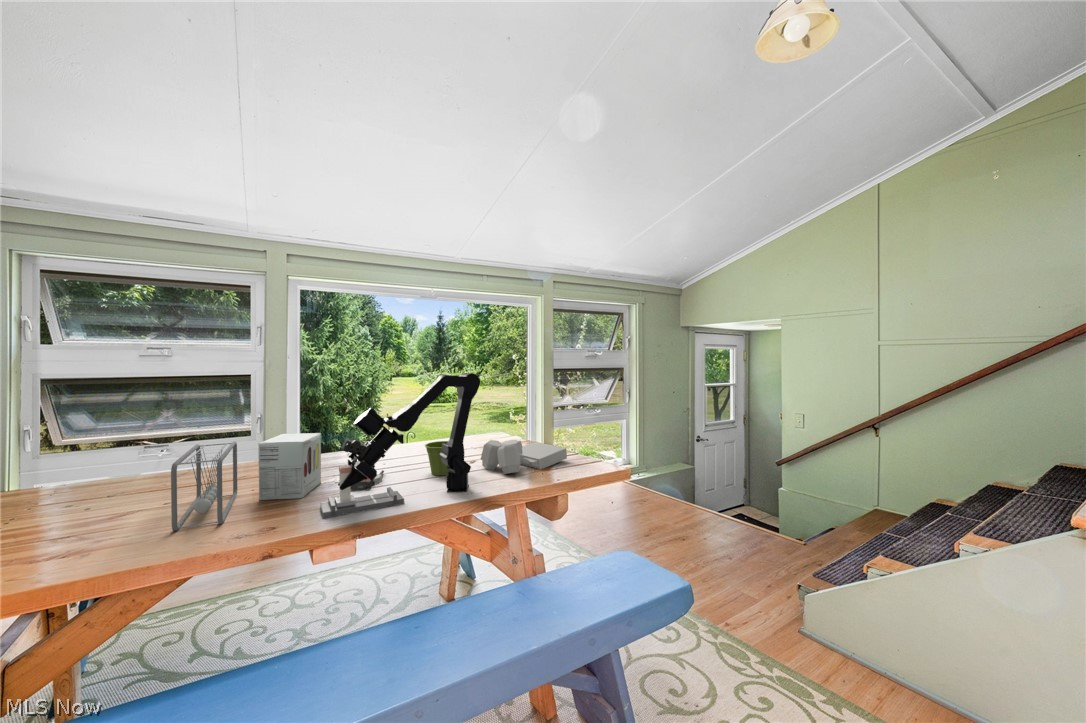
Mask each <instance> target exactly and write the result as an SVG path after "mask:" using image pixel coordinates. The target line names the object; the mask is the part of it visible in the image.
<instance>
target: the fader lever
mask: <svg viewBox="0 0 1086 723" xmlns="http://www.w3.org/2000/svg"><path fill="white" fill-rule="evenodd" d="M350 472H351V467H350V465H348V464H346V465H344V464H343V465H339V466H338V474H339V476H338V477H339V482H340V486H341V484H342V483H343V481H344V480H345V479H346V477H347V476H348V474H349V473H350ZM340 486H339V487H340ZM351 491H352V490H351V486H350V487H348V488H346V489H344V490H341V489H340V488H339V496H336V497H334V501H335V504H336V506H337V507H343V506H349V505H355V504H356V500H355V498H356V497H355V496H354V494H352V493H351Z"/></svg>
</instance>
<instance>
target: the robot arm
mask: <svg viewBox="0 0 1086 723" xmlns="http://www.w3.org/2000/svg"><path fill="white" fill-rule="evenodd" d="M480 385H481V379H480V377H479V375H477V373H473V372H472V373H471V372H463V373H461V374H460V375H457V374H456V375H453V374H451V375H448V374H440V375H438V377H437V379H435V380H434V381H433V382H432V383H431V384H430V385H429V386H428V387H427V388H426V389H425V390H424V391H423V392H421V394H419V395H418V396H417V397H416V398H415V399H414V400H413V401H412V402H411V403H409V404H407V405H405V406H403V407H402V408H400V409H399V410H397V411H396V412H395V413H393V414H392V415H390V416H386V417H382V416H381V415H380V414H378V413H377V411H376V410H375V409H374V408H373V407H369V408H368V409H367V410H366V411H364V412H363V413H361V414H359V416H357V418H356V419H355V420H354V422H353V425H354V426H355V427H356V428H358V429H359V430H360V431H361V432H362V433H363V434H365V435H366V436H368V437H370V436H373V438H372V439H370V441H368V440H367V441H366V442H364V443H362V442H361V441H360V440H356V439H353V440H352V439H349V438H345V439H344V441H343V444H342V446H341V448H340V449H341V450H342V451H343V452H346V453H347V454H346V456H347V458H348V459H347V465H350V467H351V472H350V473H349V474H348V476H347V477H346V479H345V480H344V481H343V483H342V484H341V486H340V481H339V482H338V483H337V485H338V486H339V490H340V489H341V490H344V489H346V488H348V487H350V486H352V485H354V484H356V483H358V482H360V481H363V480H365V479H368V478H369V479H370V480H373V479H374V478H375V477H376V476H377V475H378V471H377V470H376V468H375V467H376V464H377V463H378V462H379V460H380V459H381V458H382V459H384V458H385V457H386V453H387V452H388V450H389V449H391V447H392V446H393V445H395V443H396V442H397V441H398V442H399V443H400V444H402V445H403V444H404V443H405V441H404V440H405V439H404V438H405V435H404V434H403V433H405V432H408V431H411V429H413V427H414V425H415V424H416V423H417V422H418V420H419V418H420V416H421V414H422V413H423V412H424V410H426V409H427V408H428V407H429V406H430V405H431V404H432V403H433V402H434V401H435V400H436V399H437V398H438V397H439V396H440V395H441V394H442V393H443V392H445V390H446V389H448V388H450V387H452V388H453V387H454V388H456V392H457V398H458V399H457V403H456V408H455V413H454V416H453V423H452V427H451V432H450V436H449V439H448V440H447V441H448V442H447V444H444V443H443V444H442V451H441V453H440V456H441V461H442V462H443V464H445V465H446V466H447V469H449V472H448V474H447V475H446V478H445V479H446V480H445V481H446V484H445V485H446V493H449V492H450V493H455V492H456V493H458V492H459V493H463V492H464V493H465V492H468V489H469V487H470V484H469V473H470V471H471V469H472V466H471V465H470V464H469V463H468V462H466V460H465V444H464V440H465V434H466V430H467V427H468V426H467V425H468V420H469V416H470V410H471V405H472V401H473V399H474V398H475V396H476V395H477V393H478V390H479V388H480ZM385 425H386V426H387V427H389V428H390V429H388V428H387V427H386V426H385ZM395 429H396V430H397V431H396V430H395ZM398 431H399V432H401V433H398ZM402 432H403V433H402ZM349 458H350V459H349Z"/></svg>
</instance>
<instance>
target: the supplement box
mask: <svg viewBox="0 0 1086 723" xmlns="http://www.w3.org/2000/svg"><path fill="white" fill-rule="evenodd" d="M321 437H322V433H321V432H314V433H313V432H310V433H309V432H307V433H306V432H303V433H301V432H299V433H281V434H278V435H276V436H273V437H271V438H269V439H266V440H263V441H261V442H259V443H258V500H259V501H268V500H292V499H303V498H304V497H305V496H306V495H307V494H309V493H310V492H311V491H312V490H314V489H316V488H317V487H318V486H319V485H320V484H322V442H321V441H322V438H321Z"/></svg>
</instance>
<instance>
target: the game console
mask: <svg viewBox="0 0 1086 723" xmlns="http://www.w3.org/2000/svg"><path fill="white" fill-rule="evenodd" d="M567 453H568V452H567V447H562V446H557V445H552V444H548V443H542V442H537V441H534V442H531V443H528V444H525V445H523V444H522V441H521V440H517V439H510V440H505V441H504V442H501V441H499V440H495V439H494V440H493V439H490V440H488V441H486V443H484V445H483V448H482V452H481V457H480V460H481V462H482V463H481V464H482V465H481V466H482V467H484V468H485V469H486V470H491V469H494V470H495V469H497V468H501V471H502V473H503V475H507V474H508V475H509V474H511V473H512V474H513V473H517V472H518V473H519V472H520V465H521V464H522V465H521V466H524V465H525V467H528V466H529V468H532V467H533V469H536V468H537V470H539V469H541V470H543V469H546V468H548V467H550V466H552V465H555V464H558V463H560V462H562V461H564V460H566V459H568V456H567ZM542 468H543V469H542Z"/></svg>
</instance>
